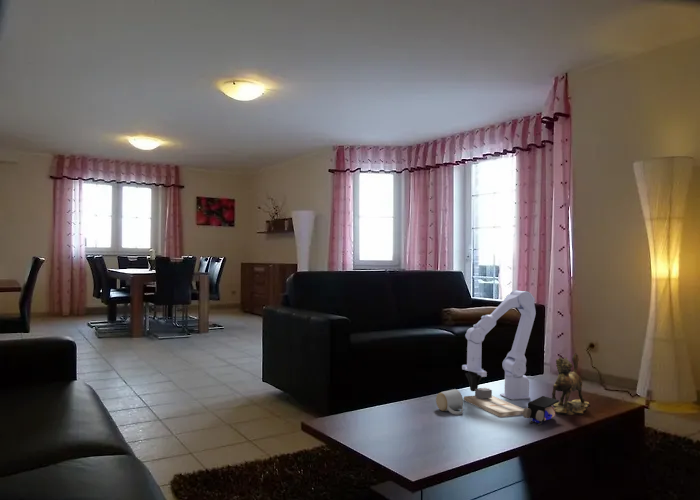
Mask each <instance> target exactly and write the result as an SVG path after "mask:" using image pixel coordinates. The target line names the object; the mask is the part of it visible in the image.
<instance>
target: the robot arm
mask: <svg viewBox="0 0 700 500" xmlns="http://www.w3.org/2000/svg"><path fill="white" fill-rule="evenodd" d="M535 302H536V298H535V297H534V296H533V294H532V293H531V292H529V291H524V290H523V291H522V290H518V289H514V290H512V291H511V292H510V293H509V294H508V295H506V296H505V298H504V300H502V301H501V302H500V304H499V305H498V306H497V307H496V308H494V310H493V311H492V312H491V313H490V314H485V315H482V316H481V317H480V318H481V319H480V320H478V322H477V323H475V324H473V325H472V326H473V327H470V328H468V329H467V330H466V333H465V335H464V337H465V339H466V340H467V347H466V351H467V352H466V364H462V365H461V370H462V371H463V370H464V371H468V372H465V377H466V379H467V381H468V385H469V389H470V391H471V392H475V389H477V388H479V384H480V382H481V380H482V378H485V377H487V375H488V374H487V373H488V372H487V371H486V370H484V368H482V350H483V349H482V348H483V347H482V343H483V342H484V340H485V337H486V335H487V334H488V333H489V332H490V331H491V330H492V329H493V328H495V326H497V321H498V320H499V319H500V318H501V317H502V316H503V315H505V314H506V313H507V312H508V311H509V310H510V309H515V308H516V309H517V310H518V311H519V313H520V319H519V322H518V324H517V325H518V326H517V329H516V332H515V335H514V338H513V339H514V340H513V343H512V346H511V350H510V351H508V352H507V354H506V357H505V358H504V359H503V361H502V362H501V363H502V369H503V370H504V393H499V396H501V397H504V398H506V399H509V400H512V401H513V400H514V401H515V400H524V399H531V396H530V380H529V378H528V376H527V375H525V374H526V372H527V366H526V365H527V358H526V356H525V354H526V349H527V347H528V343H529V339H530V336H531V333H532V329H533V326H534V323H535V322H534V321H535V318H536V314H537V313H536V312H537V311H536V305H535Z"/></svg>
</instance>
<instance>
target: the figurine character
mask: <svg viewBox="0 0 700 500" xmlns="http://www.w3.org/2000/svg"><path fill="white" fill-rule="evenodd" d="M557 402H560V399H557V398H556V399H552V397H548V396H543V395H542V396H540V397H538V398H536V399H533V400H532V401H529V402H527V407H525V408H523V409H524V411H523V415H522V416H523V418H524V419H532V420H530V421H529V422H528V423H529V424H532V425H533V423H534V422H535V423H537V426H538V427H539V426H540V425H542V424H543V423H544V422H545V421H548V420H551V419H553V418H555V416H556V413H555V409H554V408H555V407H554V406H553V404H555V403H557Z"/></svg>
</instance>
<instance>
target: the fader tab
mask: <svg viewBox="0 0 700 500" xmlns="http://www.w3.org/2000/svg"><path fill="white" fill-rule="evenodd" d="M492 394H493V390H492V389H490V388H488V387H478V388H477V389H475V391H474V396H476V397H478V398H480V399H484V398H492V396H493V395H492Z"/></svg>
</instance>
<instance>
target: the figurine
mask: <svg viewBox="0 0 700 500" xmlns="http://www.w3.org/2000/svg"><path fill="white" fill-rule="evenodd" d="M571 359H572V362H573V364H572V362H571V361H570V360H569V359H568V357H565V358H562V357H561V356H560V357H558V358H556V360H555V362H556V363H555V364H556V367H557V368H556V369H557V371H556V372H558V375H557V378H556V379H555V382H554V384H553V386H552V387H553V388H552V392H551V393H552V394H551V396H552V397H551V398H552V399H556V400H557V397H556V391H557V392H562V393H561V396H560V398H559V402H557V403H555V404H553V405H552V407H553V408H554V409H555V414H556V415H557V414H558V415H562V416H571V415H580V416H581V415H582V416H583V415H584V414H585V413H584V412H586V411H587V408H588V407H589V406H590V403H589V401H586V400H585V398H584V397H583V394H582V389H583V382H582V381H583V380H582V377H581V376H580V375H579V374H578V368H579V365H578V364H579V361H580V359H579V355H578V354H577V353H576V352H574V354H573V355H572V357H571ZM572 368H573V371H572ZM575 391H577V393H578V396H579V399H573V400H571V401H569V398H570V395H571V394H572V392H575Z"/></svg>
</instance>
